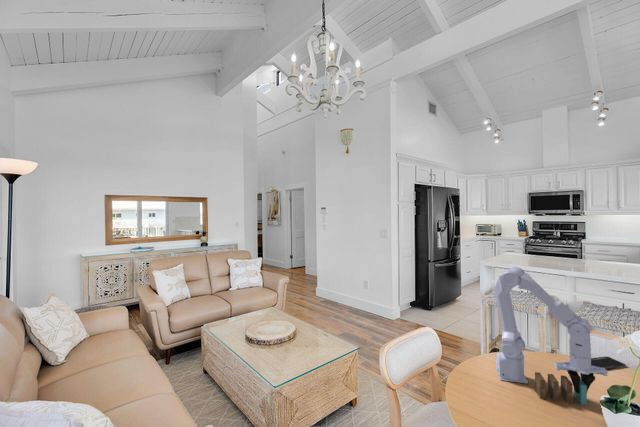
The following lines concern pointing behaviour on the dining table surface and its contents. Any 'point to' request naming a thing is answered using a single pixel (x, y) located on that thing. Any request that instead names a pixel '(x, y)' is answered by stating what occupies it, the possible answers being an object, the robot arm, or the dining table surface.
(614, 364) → the phone
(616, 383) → the dining table surface
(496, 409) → the dining table surface
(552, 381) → the domino
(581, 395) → the domino teal placed
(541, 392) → the domino
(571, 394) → the domino
